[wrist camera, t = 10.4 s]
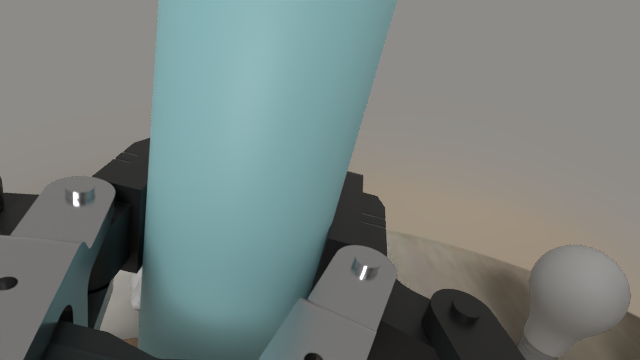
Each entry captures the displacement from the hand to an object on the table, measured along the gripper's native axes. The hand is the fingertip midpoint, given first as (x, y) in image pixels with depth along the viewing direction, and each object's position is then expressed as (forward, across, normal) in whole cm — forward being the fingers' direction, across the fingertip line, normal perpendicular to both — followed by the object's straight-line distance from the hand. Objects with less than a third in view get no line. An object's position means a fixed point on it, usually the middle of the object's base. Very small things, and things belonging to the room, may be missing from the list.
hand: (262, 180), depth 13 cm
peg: (-3, 0, +11) cm, 11 cm away
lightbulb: (+15, -21, +19) cm, 32 cm away
